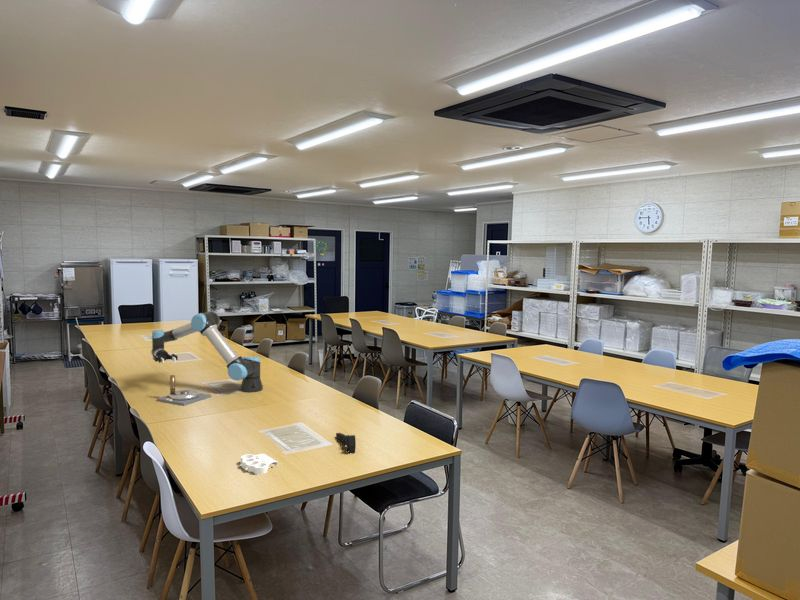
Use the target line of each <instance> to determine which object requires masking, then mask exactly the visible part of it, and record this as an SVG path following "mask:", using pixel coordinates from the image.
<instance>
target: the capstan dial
mask: <svg viewBox="0 0 800 600" xmlns="http://www.w3.org/2000/svg"><path fill="white" fill-rule="evenodd" d="M169 387H170V388H169V390H170V391H169V394H168V395H169V398H170V399H173V400H188V399H193V398H197V397H199V393H200V391H199V390H196V389H181V390H176V375H175V374H170V375H169Z"/></svg>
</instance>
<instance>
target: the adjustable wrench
mask: <svg viewBox="0 0 800 600" xmlns="http://www.w3.org/2000/svg"><path fill="white" fill-rule="evenodd" d="M335 436H336V437H337V438H338V439H337V438H336V439H337V440H340V441H341V442H342V444H344V445H345V446H346V449H347V450H348V451H349V452H348V451H347V452H348V453H352V454H355V453H356V446H357V445H356V435H354V434H352V435H351V434H350V435H349V434H343V433H342V432H336V433H335Z"/></svg>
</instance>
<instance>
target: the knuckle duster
mask: <svg viewBox="0 0 800 600" xmlns="http://www.w3.org/2000/svg"><path fill="white" fill-rule="evenodd" d="M271 463H272V464H274V465H275V466H276V467H277V466H278V465H279V462H278V461H277V460H275V459H273V458H272V457H270V456H269V455H267V454H265V453H259V454H251V453H249V454H244V455H242V456H240V464H239V465H238V467H241V468H242V470H244V471H246V472H247V471H248V473H252V472H253V474H255V475H257V474H259V475H263V473H264V474H266V473H268V471H267V470H269V469H268V468H270V469H272V468H271V467H269V465H270V464H271Z"/></svg>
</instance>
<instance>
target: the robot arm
mask: <svg viewBox="0 0 800 600" xmlns="http://www.w3.org/2000/svg"><path fill="white" fill-rule="evenodd" d="M220 320H221V319H220V316H219V314H217V313H216V312H214V311H207V312H200V313H196V314H194V315H193V316H192V317H191V322H189V323H186V324H185V325H180V326H179V327H176V328H173V329H171V330H167V331H164V330H162V329H157V330H153V331H152V333H151V334H152V335H151V339H152V340H151V342H152V343H151V344H152V345H151V346H152V347H151V348H152V349H151V355H152V360H154V362H158V363H159V364H160V363H162V364H165V361H167V360H168V361H169V360H170V361H172V362H173V363H177V361H178V360H179V359H178V355H176V354H175V353H172V354H169V352H168V351H167V350H165V344H166V343H169V342H174V341H177V340H179V339H181V338H184V337H187V336H189V335H191V334H192V335H193V334H194V333H197V332H199V333H200V334H201V336H202V337H206V338H207V339H208V341H209V342H210V344H211V345H212V346H213V347H214V349H215V350H216V351H217V353H218V354H219V355H220V357H221V358H222V359H223V360H224V363H226V369H227V374H228V376H229V378H230V379H232V380H234V381H241V385H240V392H244V393H255V392H261V391H263V390H264V385H263V383H262V379H261V358H260V357H258V356H243V357H242V355H238V353H236V352H235V350H234V349H233V348H232V346H231V344H229V343H228V342H227V340H226V338H225V337H224V336H223V335H222V333H221V332H220V330H219V329H218V325H219V324H220V322H221V321H220Z"/></svg>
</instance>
